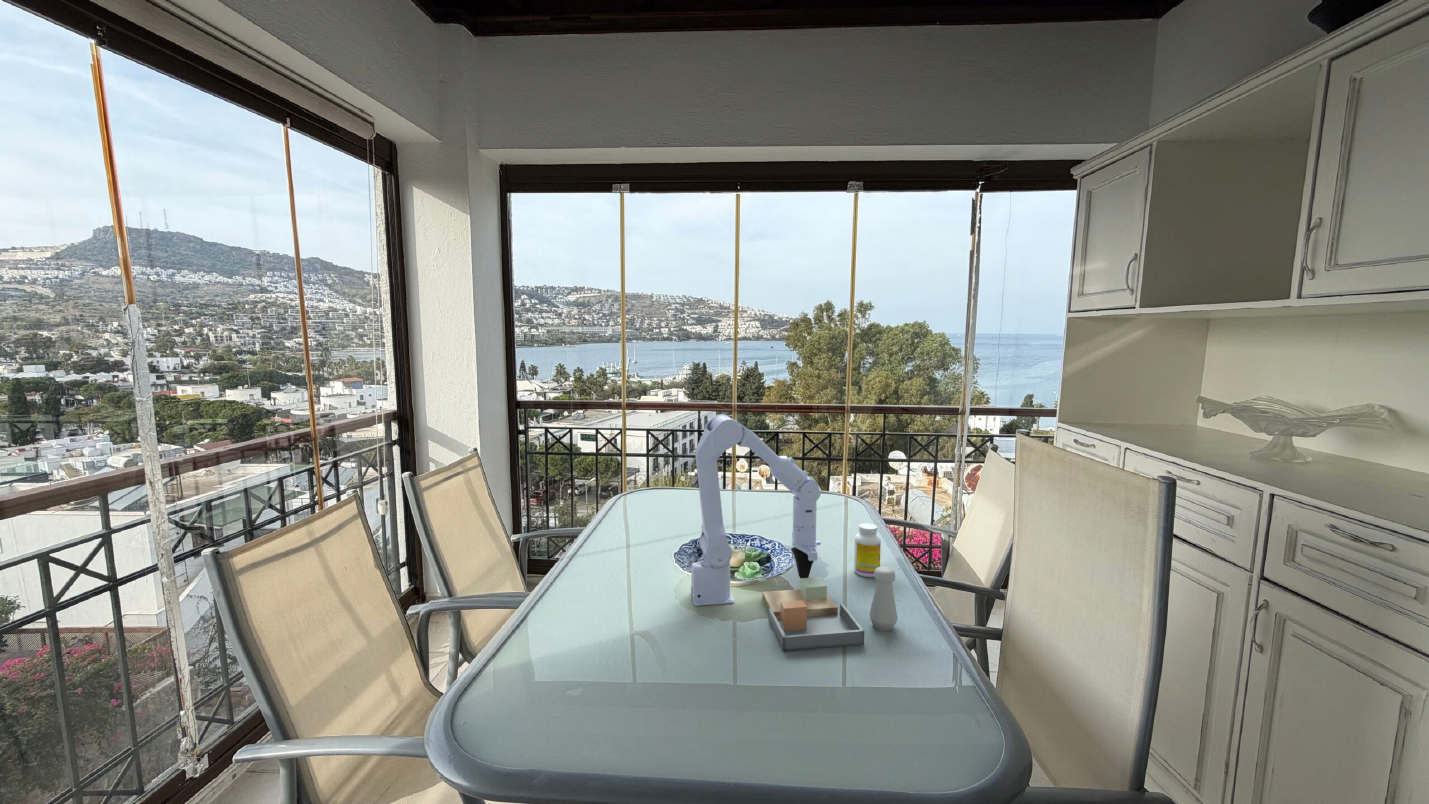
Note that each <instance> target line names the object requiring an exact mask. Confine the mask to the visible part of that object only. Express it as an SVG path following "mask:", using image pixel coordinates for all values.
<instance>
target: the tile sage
mask: <svg viewBox="0 0 1429 804" xmlns="http://www.w3.org/2000/svg"><path fill="white" fill-rule="evenodd" d="M799 589H800V591H801V593H802V595H803V596H804V598H805V599H806V600H811V599H825V598H827V594H828V585H827V584H826V583H825V581H824V580H823V579H822V578H821V576H814V577H808V578H800V577H799Z"/></svg>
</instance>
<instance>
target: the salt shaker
mask: <svg viewBox="0 0 1429 804" xmlns="http://www.w3.org/2000/svg"><path fill="white" fill-rule="evenodd" d="M873 578H874V579H875V580H876V584H875V588H874V589H875V590H874V593H873V597H872V601H871V606H870V609H869V620H870V621H871V624H872V627H874V629H876V630H878V631H880V632H889V631H892V630H893V629H894V627H895V625H896V624H897V622H898V612H897V606H896V605H897V604H896V600H895V592H894V586H893V582H894V581H895V580H896V573H895V570H893V569H892V568H891V567H889V566H880V567H878V568H876V569H875V571H874V577H873Z"/></svg>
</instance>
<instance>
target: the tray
mask: <svg viewBox="0 0 1429 804" xmlns="http://www.w3.org/2000/svg"><path fill="white" fill-rule="evenodd" d="M768 623H769V625H770V628H771V629H772V631H773V634H774V636H775V638H776V640H777V642H778V644H779V647H780V648H781V650H782V652H784V653H786V652H796V651H808V650H817V649H818V650H821V649H829V648H830V649H831V648H842V647H843V648H844V647H855V646H856V647H857V646H864V645H865V630H864V628H863V627H862V626H861V625H860V623H859V622H858V621H857V620H856V618H855V617H854V615H852V613H851V612H850V611H849V609H848V608H847V607H846V606H845V605H844V603H841V602H840V603H839V613H838V614H834V615H821V616H808V617H807V629H801V630H789V631H784V630H783V628H782V626H781V624H780V619H777V618H776V616H775V614H774V613H773V611H772V609H769V612H768Z"/></svg>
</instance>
